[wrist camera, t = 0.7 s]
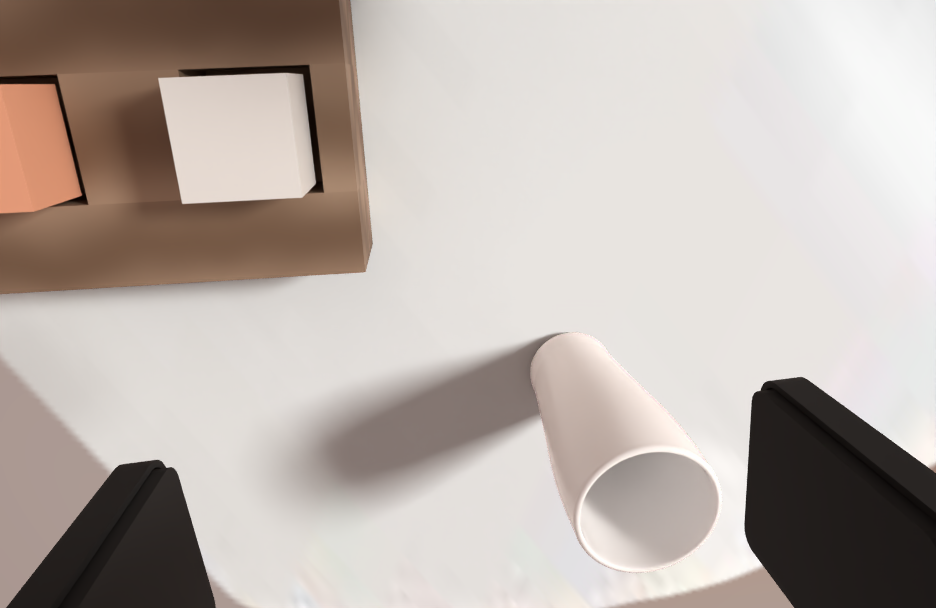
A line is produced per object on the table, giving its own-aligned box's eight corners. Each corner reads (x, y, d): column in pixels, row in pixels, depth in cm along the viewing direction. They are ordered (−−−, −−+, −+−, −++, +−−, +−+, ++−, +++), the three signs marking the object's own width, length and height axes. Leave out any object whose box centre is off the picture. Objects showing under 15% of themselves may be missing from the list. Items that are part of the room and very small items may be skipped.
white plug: (191, 78, 29) (158, 78, 25) (302, 74, 29) (286, 72, 25) (211, 189, 30) (182, 203, 26) (315, 183, 31) (302, 197, 27)
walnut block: (-54, -6, 31) (-156, -25, 26) (348, -18, 33) (335, -39, 27) (23, 263, 36) (-49, 297, 31) (372, 243, 37) (365, 272, 32)
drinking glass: (501, 394, 42) (546, 554, 27) (542, 304, 40) (614, 425, 26) (592, 424, 43) (680, 591, 29) (636, 337, 41) (753, 471, 27)
